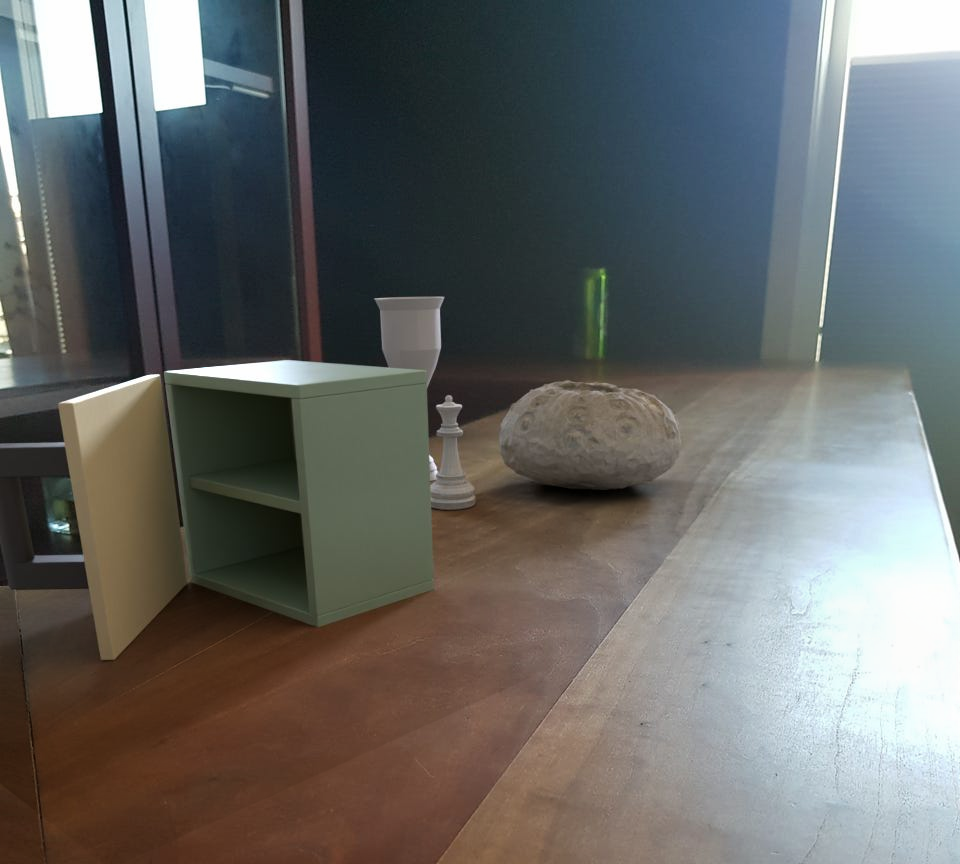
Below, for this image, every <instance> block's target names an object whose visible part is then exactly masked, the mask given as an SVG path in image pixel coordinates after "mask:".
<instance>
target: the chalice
mask: <svg viewBox="0 0 960 864" xmlns="http://www.w3.org/2000/svg"><path fill="white" fill-rule="evenodd" d="M444 299H445V296H397V297H395V296H393V297H379V298H374V301H375V303H376V305H377V307H378V309H379V310H380V311H379V314H380V315H379V316H380V332H381V334H380V335H381V351H382V353H383V355H384V358H385V361H386V363H387V366H388V367H387V368H401V369H414V370H425V371H426V384H427V388H428V387H429V384H430V382H431V379H432V377H433V374H434V372H435V371H436V367H437V364H438V361H439V357H440V353H441V349H442V337H441V336H442V335H441V334H442V333H441V306H442V305H443V302H444ZM434 461H435V460H434V458H433V457H432V456H431V455H430V454H429V463H430V482H432V481H436V473H438V472H439V471H438V470H437V469H438V466H437V465H436V464H435V462H434Z"/></svg>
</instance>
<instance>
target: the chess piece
mask: <svg viewBox="0 0 960 864" xmlns="http://www.w3.org/2000/svg"><path fill="white" fill-rule="evenodd" d="M444 400H445V401H444V402H443V403H441V404H436V406H435V409H436V410H437V411H438V413H439V415H440V417H441V421H442V423H441V424H440V426H441V427H439V429H438V430H436V436H437V437H439V438H442V442H443V443H442V458H441V464H440V469H439V471H438V473H436V480H434V482H433V483H431V484H430V490H431V509H436V510H442V511H443V510H445V511H456V510H463V509H464V510H465V509H469V508H471V507H473V506H474V505H475V504H476V496H475V487H474V485H473V484H472V483H471V482H470V481H468V480H467V472H465V471H463V469H462V467H461V466H462V465H461V461H460V455H459V451H458V450H459V449H458V441H457V440H458V438H457V437H461V436H463V434H464V430H463V429H462V428H460V427H459V423H458V422H457V419H458V416H459V413H460V411H461V410H462V408H463V405H462V404H460V403H455V402H454V401H453V396H452V395H450V394H447V395H446V396H445V397H444Z"/></svg>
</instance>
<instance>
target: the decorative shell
mask: <svg viewBox="0 0 960 864" xmlns="http://www.w3.org/2000/svg"><path fill="white" fill-rule="evenodd" d="M675 413H676V411H675V410H674V409H671V408H669V407H668V406H667V405H666V404H665V403H664V402H663V401H661V400H660V399H658V398H657V397H656V395H655V394H650V393H647V392H644V391H642V390H639V389H637V388H627V387H621V388H620V387H618V386H617V385H616V384H611V383H606V382H599V381H595V382H590V383H589V382H586V383H585V382H583V381H580V382H575V381H572V380H568V379H566V380H564V381H554V382H551V383H544V384H543V385H542V386H539V387H537V388H535V389H533V388H532V389H529V391H528V392H527V393H525V394H524V395H523V396H522V397H521V398H519V399H518V400H517V401H516V402H513V403H511V404H510V408H509V410H508V412H507V413H506V415H505V417H504V418H503V419H502V422H501V424H500V427H499V438H498V451H499V454H500V456H501V458H502V460H503V464H504V465H505V466H506V467H507V468H508V469H510V470H513V471H514V473H515V474H517V475H520V476H523V477H524V478H527V479H529V480H532V481H533V482H535V483H537V484H540V485H547V486H552V487H560V488H564V489H565V488H566V489H574V490H575V489H578V490H592V491H595V490H600V491H608V490H617V489H625V488H626V487H627V488H628V487H630V486H640V485H644V484H645V483H648V482H653V481H655V480H656V479H657V478H659V477H660V476H662V475H663V474H665V473H667V472H668V471H669V470H671V469H672V467H673V466H674V465H675V463H676V461H677V460H678V458H679V456H680V454H681V453H680V452H681V448H682V445H681V443H682V435H681V434H682V433H681V429H680V424H679V420H678V417H677V415H676V414H675Z"/></svg>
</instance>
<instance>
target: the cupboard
mask: <svg viewBox="0 0 960 864" xmlns="http://www.w3.org/2000/svg"><path fill="white" fill-rule="evenodd" d="M163 376H164V384H165V393H166V400H167V409H168V415H169V423H170V430H171V439H172V446H173V454H174V462H175V471H176V477H177V486H178V493H179V501H180V509H181V516H182V524H183V525H182V526H183V531H184V532H183V534H184V540H185V547H186V556H187V563H188V571H189V579H190V583H192V584H195V585H198V586H200V587H203V588H206V589H209V590H212V591H215V592H218V593H220V594H223V595H226V596H228V597H232V598H235V599H237V600H240V601H244V602H246V603H248V604H251V605H254V606H257V607H259V608H263V609H266V610H268V611H271V612H274V613H277V614H280V615H282V616H285V617H288V618H291V619H293V620H296V621H299V622H301V623H305V624H308V625H310V626H313V627H316V628H320V627H323V626H326V625H329V624H334V623H335V622H339V621H341V620H344V619H348V618H351V617H353V616H356V615H360V614H363V613H366V612H369V611H373V610H375V609H378V608H382V607H385V606H387V605H390V604H394V603H397V602H400V601H402V600H406V599H409V598H411V597H414V596H418V595H421V594H424V593H427V592H431V591H433V590H434V589H435V580H434V579H435V576H434V575H435V574H434V573H435V572H434V549H433V546H434V545H433V544H434V543H433V522H432V521H433V520H432V507H431V490H430V486H431V481H430V463H429V455H430V439H429V437H430V436H429V411H428V387H427V384H426V371H425V370H414V369H401V368H389V367H386V366H385V367H384V366H371V365H361V364H360V365H358V364H347V363H346V364H345V363H333V362H318V361H305V360H304V361H303V360H291V359H283V360H275V361H274V360H273V361H264V362H263V361H262V362H251V363H242V364H229V365H219V366H209V367H198V368H197V367H196V368H187V369H186V368H185V369H178V370H177V369H176V370H167V371H166V370H165V371H164V372H163Z"/></svg>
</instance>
